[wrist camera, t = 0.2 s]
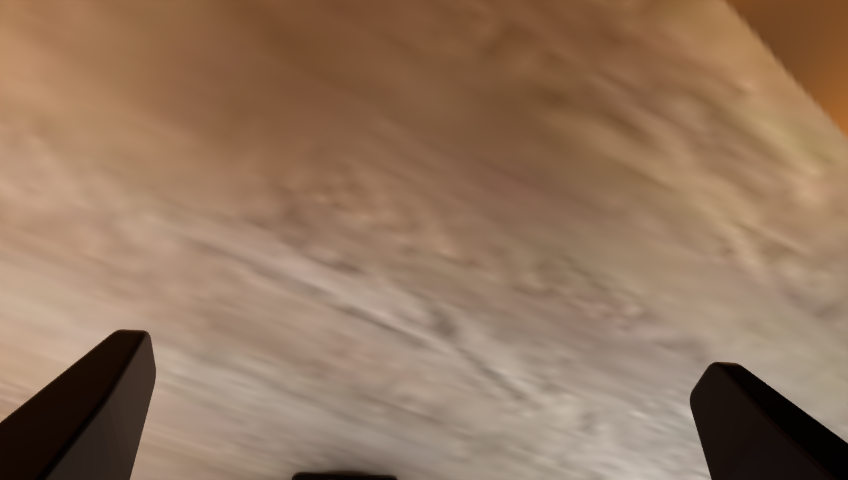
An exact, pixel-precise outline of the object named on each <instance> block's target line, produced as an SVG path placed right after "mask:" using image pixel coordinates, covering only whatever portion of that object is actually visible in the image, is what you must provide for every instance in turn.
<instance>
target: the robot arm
mask: <svg viewBox="0 0 848 480" xmlns="http://www.w3.org/2000/svg"><path fill="white" fill-rule="evenodd" d="M155 379H156V367H155V361H154V354H153V348H152V342H151V337H150V335H149V333H148V332H146V331H143V330H125V329H121V330H117V331H115V332H113V333H112V334H111V335H109V336H108V337H107V338H106V339H104V340H103V341H102V342H101V343H99V344H98V345H97V346H96V347H94V348H93V349H92V350H91V351H89V352H88V353H87V354H86V355H84V356H83V357H82V358H81V359H79V360H78V361H77V362H76V363H74V364H73V365H72V366H71V367H69V368H68V369H67V370H66V371H64V372H63V373H62V374H61V375H59V376H58V377H57V378H56V379H54V380H53V381H52V382H51V383H49V384H48V385H47V386H46V387H44V388H43V389H42V390H41V391H39V392H38V393H37V394H36V395H34V396H33V397H32V398H31V399H29V400H28V401H27V402H26V403H24V404H23V405H22V406H21V407H19V408H18V409H17V410H16V411H14V412H13V413H12V414H11V415H9V416H8V417H7V418H6V419H4V420H3V421H2V422H1V423H0V480H130V476H131V473H132V469H133V466H134V462H135V458H136V454H137V450H138V446H139V442H140V439H141V435H142V431H143V427H144V423H145V419H146V415H147V412H148V408H149V404H150V400H151V396H152V392H153V389H154V384H155ZM690 407H691V410H692V414H693V417H694V421H695V424H696V428H697V431H698V434H699V438H700V441H701V445H702V448H703V451H704V455H705V458H706V462H707V465H708V469H709V472H710V475H711V479H712V480H848V443H847V442H845V441H844V440H842V439H841V438H840V437H838V436H837V435H836V434H834V433H833V432H832V431H830V430H829V429H827V428H826V427H825V426H823V425H822V424H821V423H819V422H818V421H817V420H815V419H814V418H812V417H811V416H810V415H808V414H807V413H806V412H804V411H803V410H801V409H800V408H799V407H797V406H796V405H795V404H793V403H792V402H791V401H789V400H788V399H786V398H785V397H784V396H782V395H781V394H780V393H778V392H777V391H775V390H774V389H773V388H771V387H770V386H769V385H767V384H766V383H765V382H763V381H762V380H760V379H759V378H758V377H756V376H755V375H754V374H752V373H751V372H750V371H748V370H747V369H745V368H744V367H743V366H741V365H739V364H737V363H729V362H714V363H712V364H710V365H709V366H708V368H707V369H706V371H705V372H704V374H703V375H702V377H701V378H700V380H699V381H698V383H697V384H696V386H695V387H694V389H693V390H692V392H691V395H690ZM292 480H396V479H393V478H371V477H341V476H312V475H297V476H294V477H293V478H292Z"/></svg>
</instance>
